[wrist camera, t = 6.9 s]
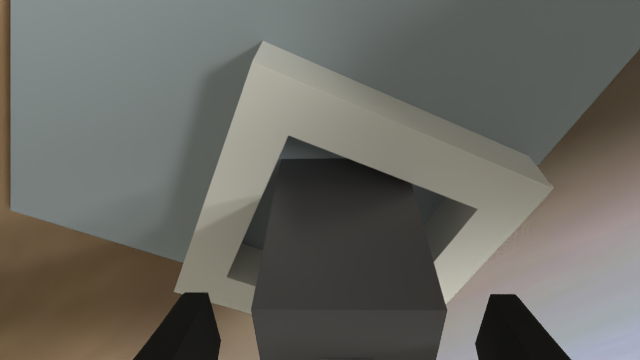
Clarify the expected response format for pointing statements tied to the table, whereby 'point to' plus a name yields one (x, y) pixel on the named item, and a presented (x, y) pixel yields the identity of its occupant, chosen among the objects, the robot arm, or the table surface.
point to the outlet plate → (296, 115)
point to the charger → (346, 268)
